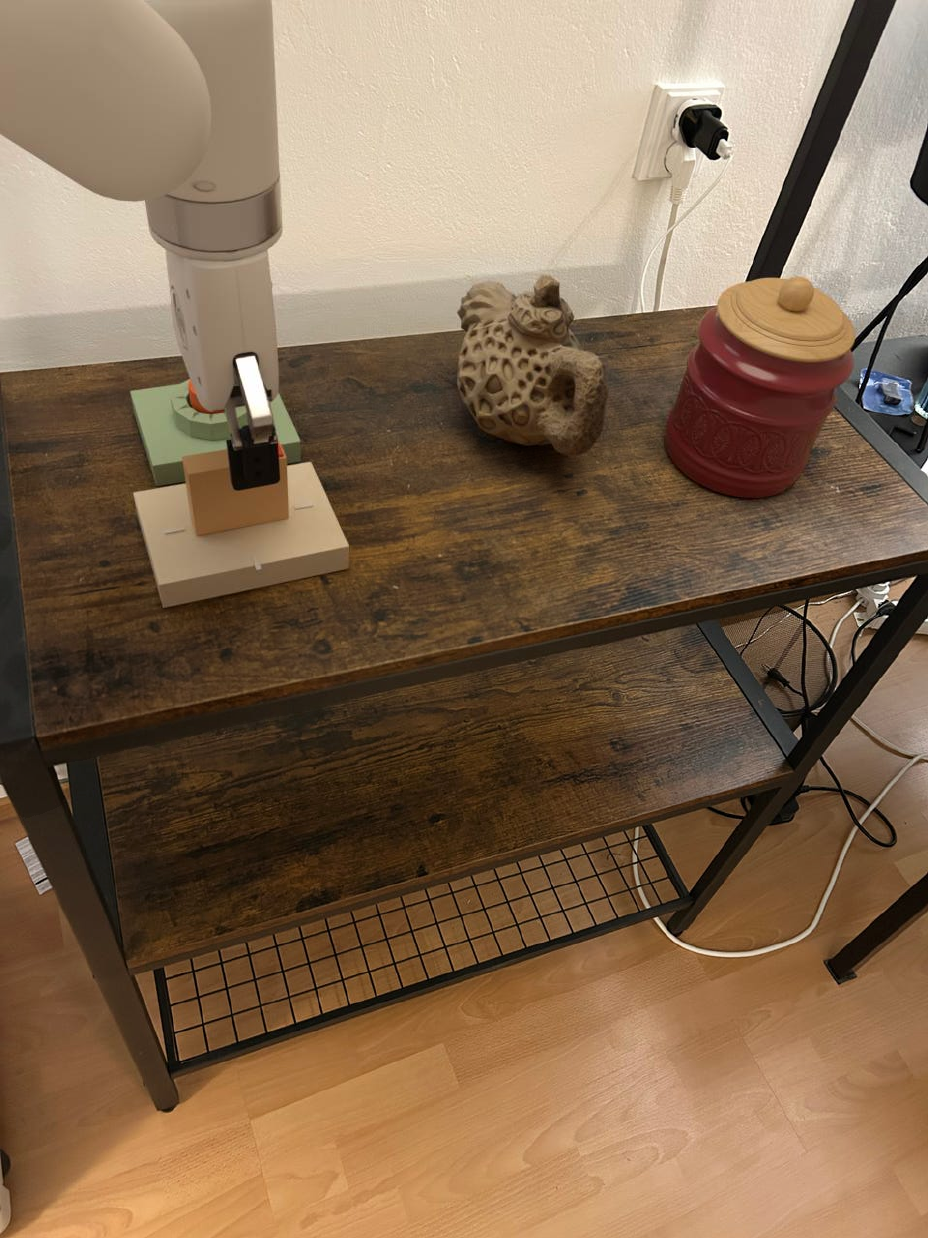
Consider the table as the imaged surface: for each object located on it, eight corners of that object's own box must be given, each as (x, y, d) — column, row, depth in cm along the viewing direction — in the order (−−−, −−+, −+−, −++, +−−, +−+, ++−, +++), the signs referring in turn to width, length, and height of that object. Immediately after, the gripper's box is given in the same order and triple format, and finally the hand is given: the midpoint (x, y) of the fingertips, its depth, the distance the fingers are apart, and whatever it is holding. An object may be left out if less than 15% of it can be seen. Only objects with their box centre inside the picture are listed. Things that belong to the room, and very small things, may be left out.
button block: (156, 486, 78) (149, 447, 75) (133, 411, 84) (126, 372, 81) (301, 461, 82) (300, 423, 79) (270, 391, 88) (268, 353, 85)
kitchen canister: (635, 424, 90) (689, 247, 77) (745, 399, 95) (814, 228, 82) (713, 515, 83) (787, 337, 70) (829, 484, 88) (919, 312, 75)
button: (195, 418, 79) (193, 400, 77) (186, 391, 81) (184, 373, 79) (239, 411, 80) (238, 393, 78) (229, 385, 82) (227, 368, 80)
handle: (196, 536, 72) (187, 471, 67) (190, 518, 73) (181, 453, 68) (289, 518, 74) (286, 454, 69) (282, 501, 75) (279, 437, 70)
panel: (164, 614, 70) (160, 589, 68) (136, 510, 76) (131, 485, 74) (351, 574, 74) (352, 549, 72) (309, 479, 81) (309, 455, 79)
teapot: (411, 376, 92) (424, 224, 80) (517, 354, 96) (543, 206, 85) (521, 524, 80) (554, 370, 69) (635, 491, 84) (684, 342, 73)
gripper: (119, 138, 59) (159, 374, 72) (179, 293, 49) (213, 534, 62) (242, 129, 61) (259, 359, 74) (323, 275, 51) (326, 511, 64)
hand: (238, 438), depth 68 cm, fingers open, 9 cm apart
